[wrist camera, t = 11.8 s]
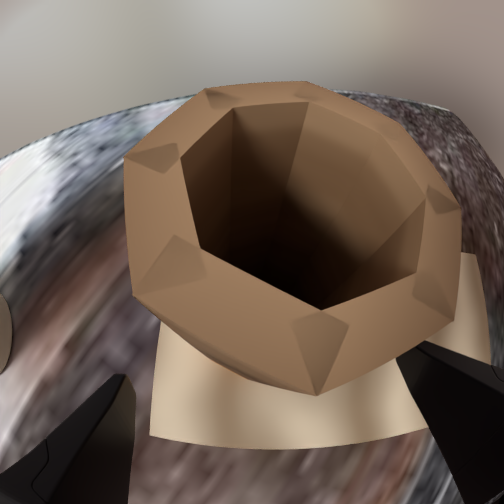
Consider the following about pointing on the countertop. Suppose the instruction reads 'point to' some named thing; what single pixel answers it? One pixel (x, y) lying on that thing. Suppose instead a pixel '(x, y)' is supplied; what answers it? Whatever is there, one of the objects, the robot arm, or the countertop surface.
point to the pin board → (297, 404)
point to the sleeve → (290, 234)
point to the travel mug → (4, 332)
